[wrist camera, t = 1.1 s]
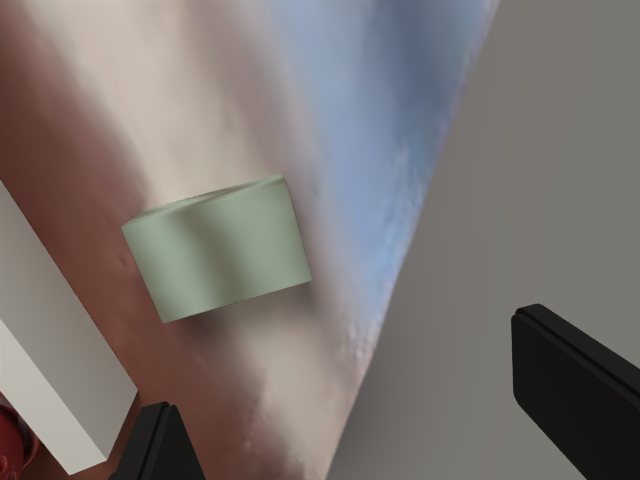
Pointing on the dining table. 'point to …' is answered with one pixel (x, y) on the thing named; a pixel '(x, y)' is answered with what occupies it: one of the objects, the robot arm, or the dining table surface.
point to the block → (218, 247)
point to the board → (55, 352)
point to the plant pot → (15, 441)
